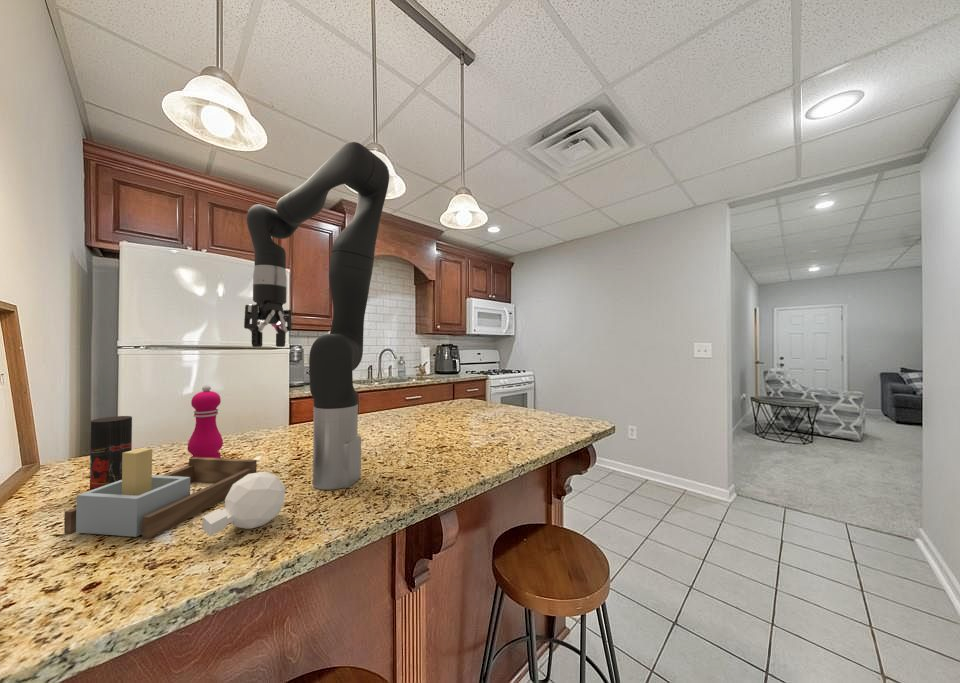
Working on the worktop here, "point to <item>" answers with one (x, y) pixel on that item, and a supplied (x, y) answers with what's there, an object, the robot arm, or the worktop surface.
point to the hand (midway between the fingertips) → (269, 346)
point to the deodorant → (108, 449)
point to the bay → (181, 510)
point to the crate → (128, 497)
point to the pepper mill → (205, 425)
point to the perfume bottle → (248, 503)
